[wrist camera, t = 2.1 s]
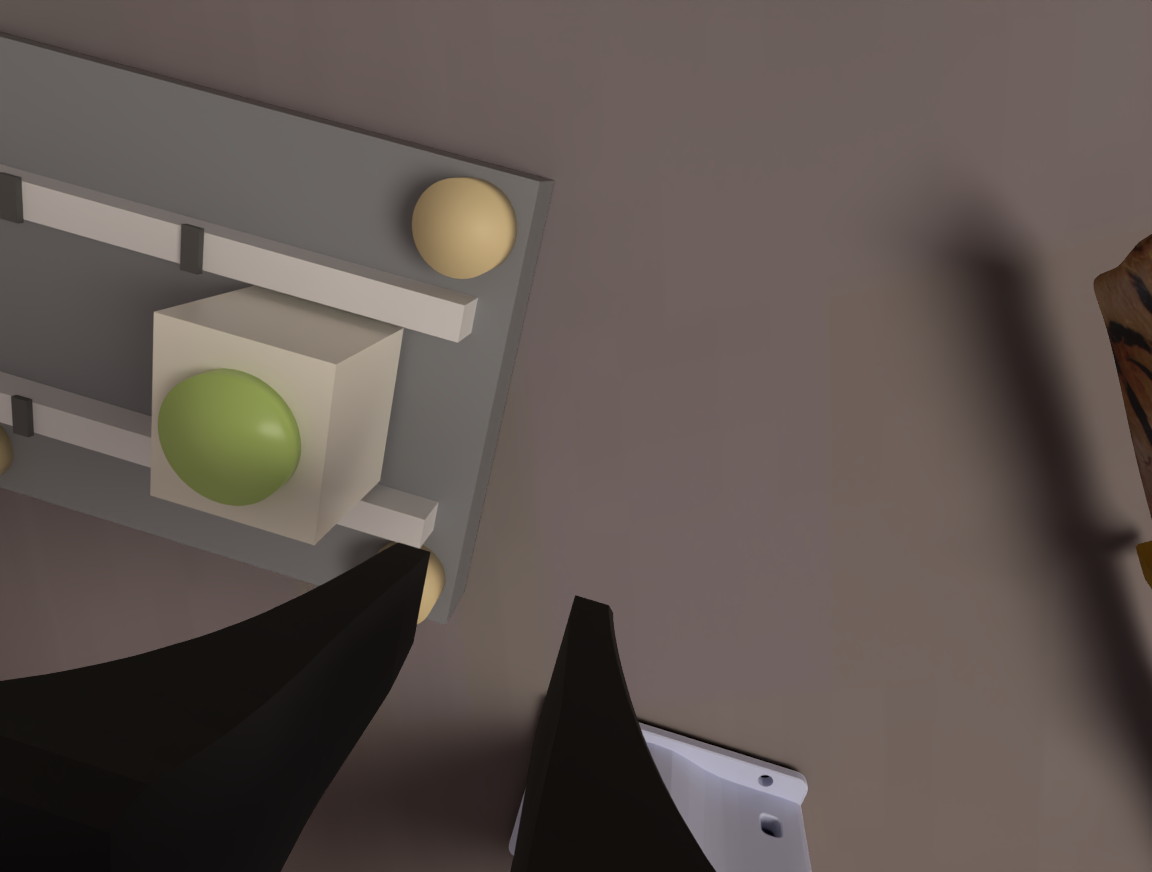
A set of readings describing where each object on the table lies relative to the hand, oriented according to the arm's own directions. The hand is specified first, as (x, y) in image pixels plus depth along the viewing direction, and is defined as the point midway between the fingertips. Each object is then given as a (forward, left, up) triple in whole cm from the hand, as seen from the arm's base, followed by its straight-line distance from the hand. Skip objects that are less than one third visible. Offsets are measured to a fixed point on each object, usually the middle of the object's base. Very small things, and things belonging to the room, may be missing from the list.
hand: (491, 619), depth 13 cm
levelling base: (+11, 0, -10) cm, 15 cm away
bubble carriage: (+7, 0, -8) cm, 11 cm away
